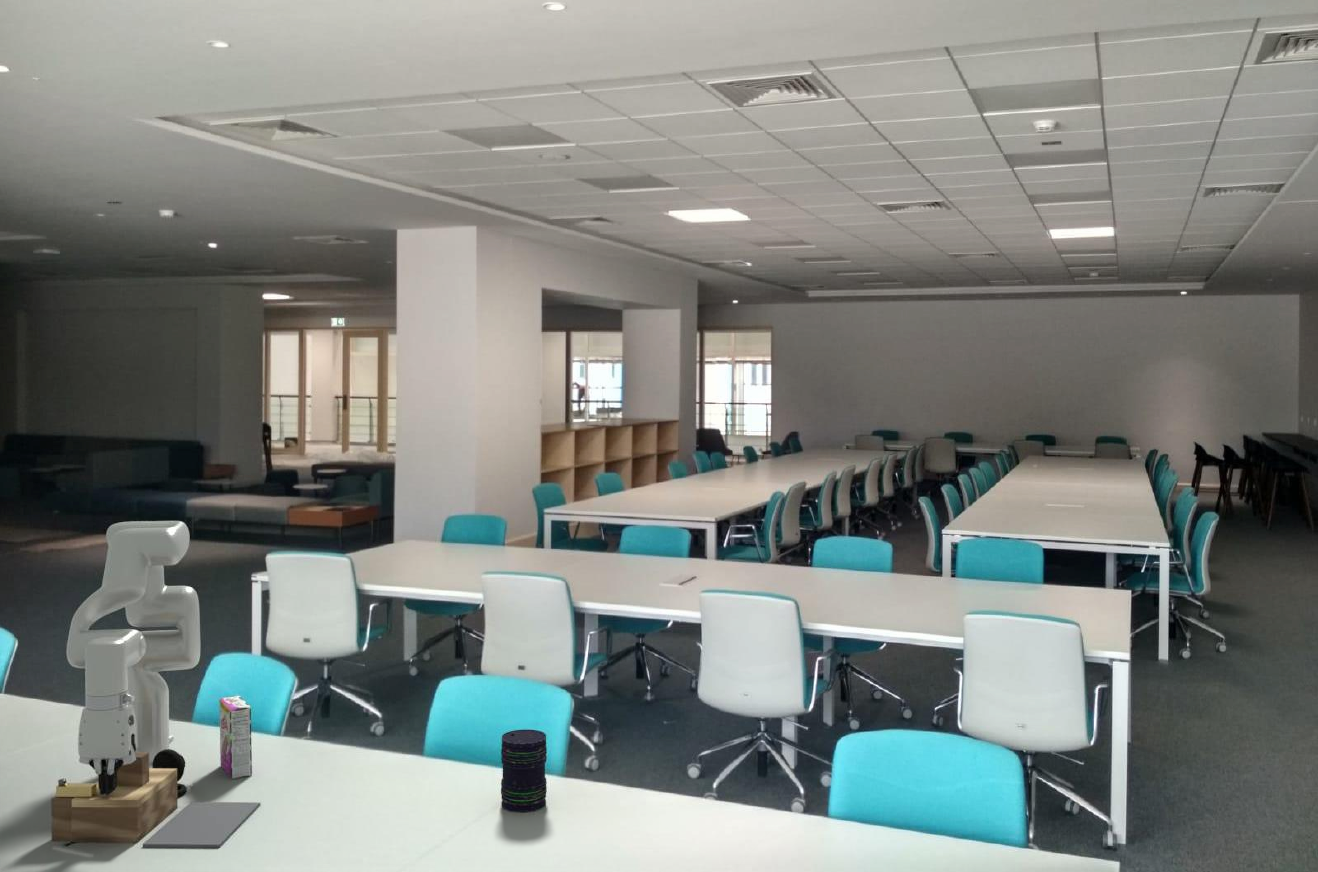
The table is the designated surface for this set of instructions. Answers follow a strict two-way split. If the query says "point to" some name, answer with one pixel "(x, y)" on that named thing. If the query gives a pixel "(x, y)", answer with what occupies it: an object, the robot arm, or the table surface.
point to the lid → (130, 785)
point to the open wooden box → (111, 818)
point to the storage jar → (523, 771)
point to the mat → (203, 825)
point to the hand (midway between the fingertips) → (108, 792)
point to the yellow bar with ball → (75, 789)
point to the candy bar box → (235, 737)
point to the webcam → (171, 766)
